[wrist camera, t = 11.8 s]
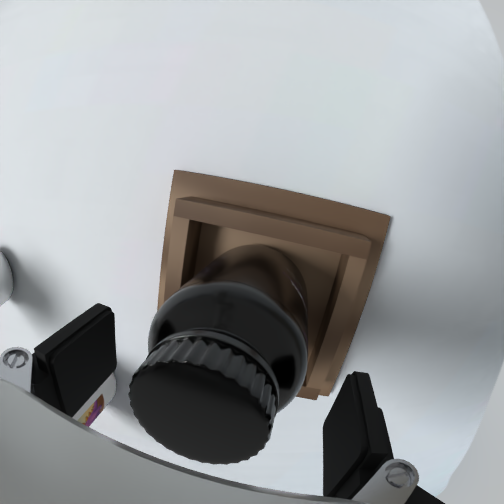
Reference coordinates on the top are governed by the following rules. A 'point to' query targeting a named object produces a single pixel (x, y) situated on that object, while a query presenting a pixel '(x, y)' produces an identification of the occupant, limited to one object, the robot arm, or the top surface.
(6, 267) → the plastic bottle
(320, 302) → the walnut stand
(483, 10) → the top surface
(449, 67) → the top surface
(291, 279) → the supplement bottle
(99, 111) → the top surface
